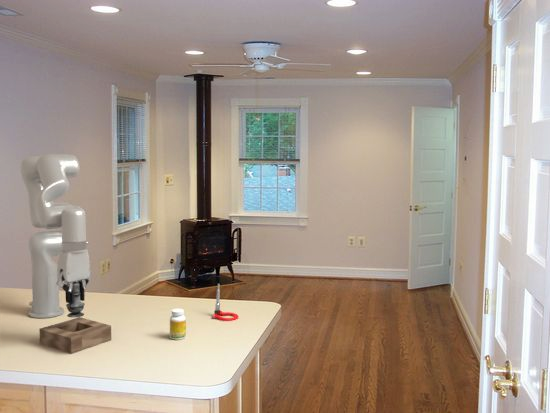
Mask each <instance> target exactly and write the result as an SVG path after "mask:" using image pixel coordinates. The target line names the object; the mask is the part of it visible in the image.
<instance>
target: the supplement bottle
mask: <svg viewBox="0 0 550 413" xmlns="http://www.w3.org/2000/svg"><path fill="white" fill-rule="evenodd" d="M184 314H185V311H184V309H182V308H173V309H172V310H171V316H170V317H169V338H170V339H171V340H175V341H179V340H184V339H185V338H186V328H187V326H186V324H187V323H186V322H187V320H186V319H187V318H186V316H185V315H184Z"/></svg>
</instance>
